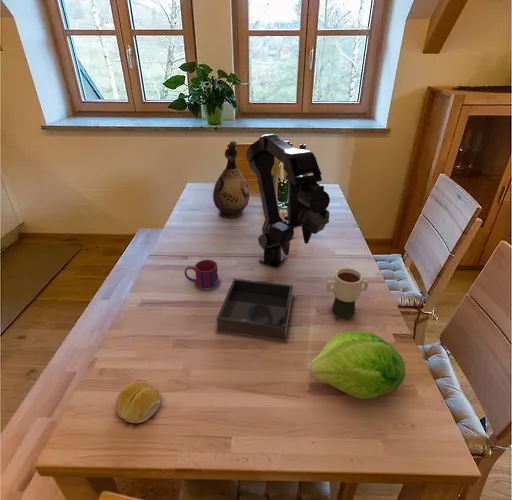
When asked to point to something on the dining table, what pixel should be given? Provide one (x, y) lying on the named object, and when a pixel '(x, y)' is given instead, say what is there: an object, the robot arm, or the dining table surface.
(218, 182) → the ceramic jug
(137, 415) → the bread roll
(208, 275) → the cup
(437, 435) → the dining table surface
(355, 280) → the coffee mug
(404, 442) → the dining table surface
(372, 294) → the dining table surface
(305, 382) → the dining table surface
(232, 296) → the tray
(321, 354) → the lettuce
